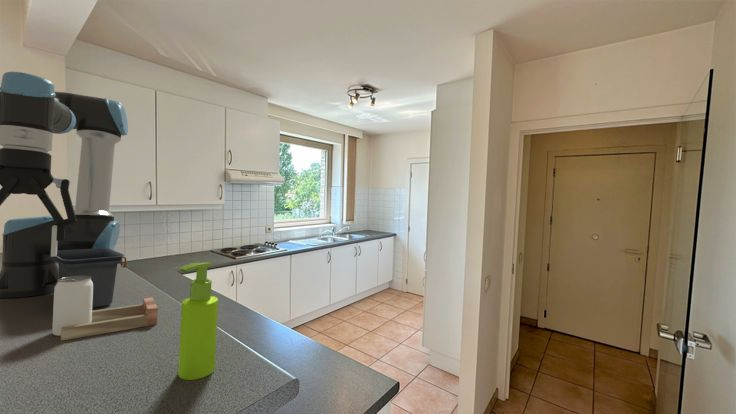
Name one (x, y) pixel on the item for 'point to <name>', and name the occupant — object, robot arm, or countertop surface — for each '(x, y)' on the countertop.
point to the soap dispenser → (198, 326)
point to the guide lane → (114, 320)
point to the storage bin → (92, 270)
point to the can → (72, 302)
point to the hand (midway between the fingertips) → (21, 257)
